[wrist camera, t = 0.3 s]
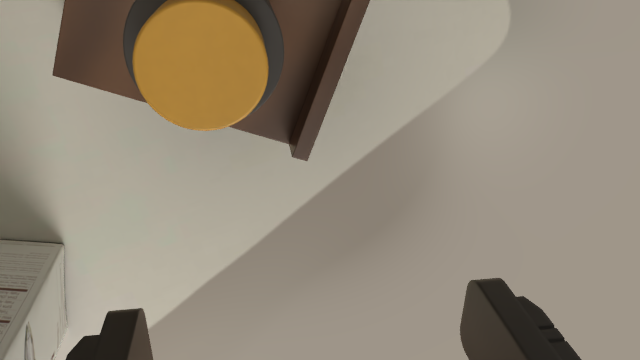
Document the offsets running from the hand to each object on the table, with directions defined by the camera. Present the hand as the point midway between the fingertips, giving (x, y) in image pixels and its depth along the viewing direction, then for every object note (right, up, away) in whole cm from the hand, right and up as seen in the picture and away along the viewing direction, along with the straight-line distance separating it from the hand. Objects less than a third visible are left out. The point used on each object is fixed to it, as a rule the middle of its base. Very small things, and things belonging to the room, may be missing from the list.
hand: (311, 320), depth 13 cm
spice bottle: (-4, +11, +10) cm, 15 cm away
